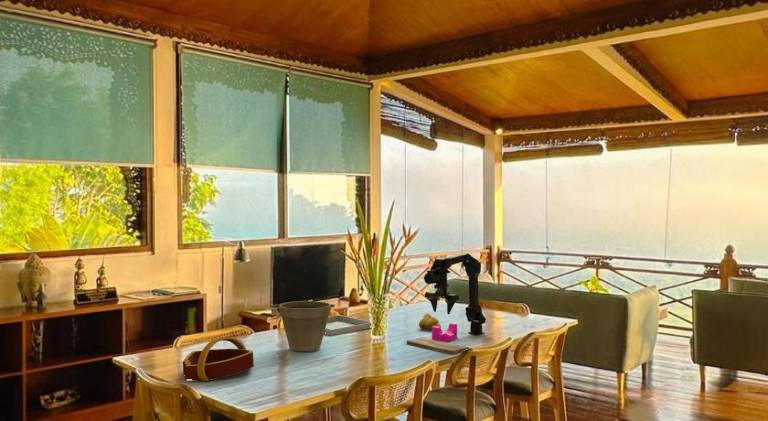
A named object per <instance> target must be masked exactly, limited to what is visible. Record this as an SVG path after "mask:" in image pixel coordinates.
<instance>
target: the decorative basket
mask: <svg viewBox="0 0 768 421" xmlns="http://www.w3.org/2000/svg"><path fill="white" fill-rule="evenodd" d="M221 341H225V342H229V343H231V344H233V345H234V346H235V347H236V348H219V349H218V348H215V349H214V348H213V346H214V345H215V344H218V343H219V342H221ZM212 348H213V349H212ZM254 360H255V359H254V351H253V350H252V349H251V350H250V349H247V348H246V346H245V344H244V343H243V341H241V340H240V339H239V338H237V337H234V336H221V337H218V338H214V339H213V340H211V341H209V342H208V343H207V344H206V345H205V346H204V347H203V349H202V350H194V351H192V350H191V352H190V353H189V354H188V355H186V357H185V358H184V359H183V361H182V372H183V375H185V376H184V378H185V377H186V379H192V380H203V381H202V382H209V381H208V380H211V379H213V380H216V379H220V378H224V377H229V376H233V375H236V374H240V373H241V372H245V371H247V370H250V369H251V368H254V367H255V363H254ZM186 379H185V380H186Z"/></svg>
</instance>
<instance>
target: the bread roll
mask: <svg viewBox="0 0 768 421" xmlns="http://www.w3.org/2000/svg"><path fill="white" fill-rule="evenodd" d="M439 322H440V321H439V320H438V319H437V317H434V316H431V315H430V314H429V313H425V314H423V316H422V318H421V319H420V320H419V322H418V327H419V328H420V329H421V330H427V331H432V327H433V326H438V327H441V323H439ZM441 328H442V327H441Z"/></svg>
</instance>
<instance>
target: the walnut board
mask: <svg viewBox="0 0 768 421" xmlns="http://www.w3.org/2000/svg"><path fill="white" fill-rule="evenodd" d="M406 345H411V346H415V347H419V348H423V349H428V350H433V351H434V352H440V353H444V354H448V355H455V354H459V353H463V352H462V351H464V350H466V349H469V348H470V347H469V346H465V345H461V344H456V343H451V342H443V341H438V340H433V339H432V338H428V337H424V336H423V337H418V338H413V339H407V340H406ZM464 352H465V351H464Z"/></svg>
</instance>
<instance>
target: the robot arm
mask: <svg viewBox="0 0 768 421" xmlns="http://www.w3.org/2000/svg"><path fill="white" fill-rule="evenodd" d="M460 263H461V264H462V265H463V267H464V269H465V270H464V272H465V274H466V275H467V277H468V299H469V300H468V302H469V303H468V305H467V306H465V316H466V320H467V322H468V323H470V326H469V327H470V329H469V332H468V334H470V335H475V336H479V335H484V334H485V332H483V324H485V323H486V320H487V318H486V317H485V315H484V314H483V309H482V307H481V305H480V304H479V303H480V300H479V276H480V274H481V273H482V272H481V270H482V263H481V262H480V261H479V260H478V259H476V258H475V257H473V256H472V255H471V254H470V253H468V252H461V253H459V254H455V255H451V256H448V257H447V256H446V257H435V258H434V261H433V263H432V265H431V267H430V269H428V270H427V271H426V273H425V274H424V275H423V280H424V283H425V284H426V285H432V284H434V285H433V288H431V289H430V290H428V291H425V293H424V298H426V300H428V301H429V302H430V304H431V307H432V310H433V313H436V312H437V310H438V309H437V307H438V299H445V300H446V301H445V303H446V313H447V315H450V314H451V312H452V310H453V307H454V305H455V304H456V303H457V302H458V301H460V296H459V294H455V293H451V294H450V292H448V287H449V286H450V284H448V274H451V271H450V270H449V269H450V268H451V267H452V266H453V265H456V264H460Z"/></svg>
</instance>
